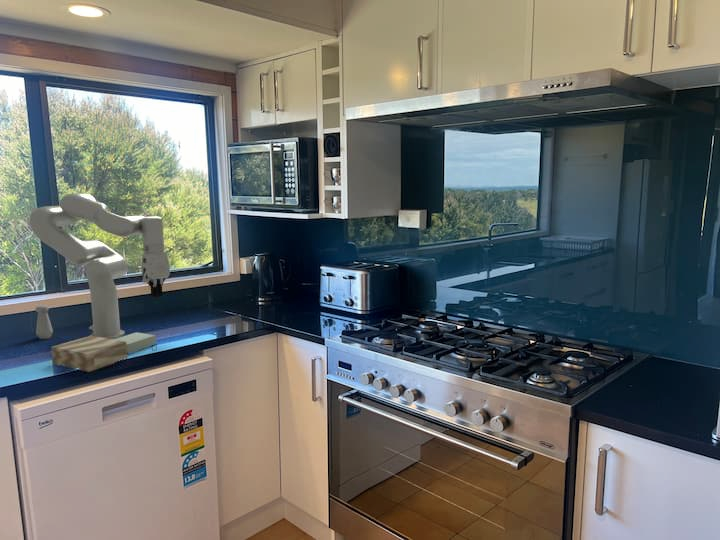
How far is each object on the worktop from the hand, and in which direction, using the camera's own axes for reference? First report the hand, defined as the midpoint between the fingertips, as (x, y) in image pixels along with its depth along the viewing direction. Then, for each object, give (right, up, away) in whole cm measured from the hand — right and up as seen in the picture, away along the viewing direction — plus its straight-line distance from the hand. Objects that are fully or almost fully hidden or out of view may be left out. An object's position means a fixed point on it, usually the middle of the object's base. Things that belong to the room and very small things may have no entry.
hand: (156, 295), depth 208 cm
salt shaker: (-46, -17, +4) cm, 49 cm away
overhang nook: (-13, -21, -24) cm, 35 cm away
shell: (-6, -19, -9) cm, 21 cm away
